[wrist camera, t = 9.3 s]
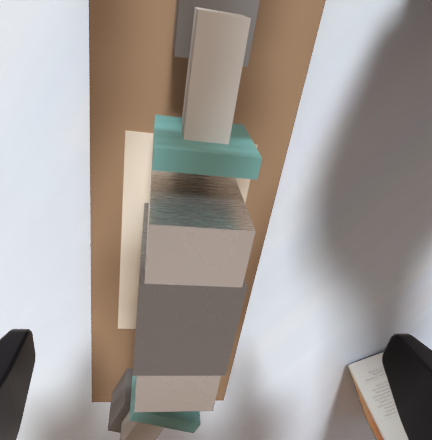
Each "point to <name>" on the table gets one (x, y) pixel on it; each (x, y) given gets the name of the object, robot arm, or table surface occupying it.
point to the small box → (377, 398)
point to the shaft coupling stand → (181, 147)
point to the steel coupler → (189, 289)
